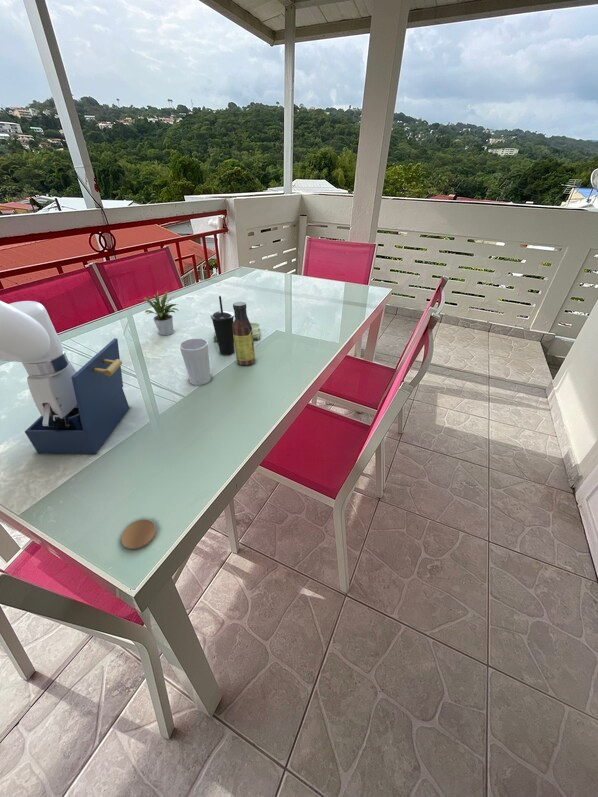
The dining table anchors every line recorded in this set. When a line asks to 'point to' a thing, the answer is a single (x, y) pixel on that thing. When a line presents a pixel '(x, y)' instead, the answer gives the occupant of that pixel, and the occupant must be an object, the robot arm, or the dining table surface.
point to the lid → (98, 383)
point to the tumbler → (75, 419)
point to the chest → (78, 432)
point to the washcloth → (254, 329)
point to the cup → (196, 360)
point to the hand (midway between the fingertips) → (79, 428)
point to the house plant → (162, 314)
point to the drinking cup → (224, 330)
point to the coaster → (138, 534)
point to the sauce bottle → (243, 335)
